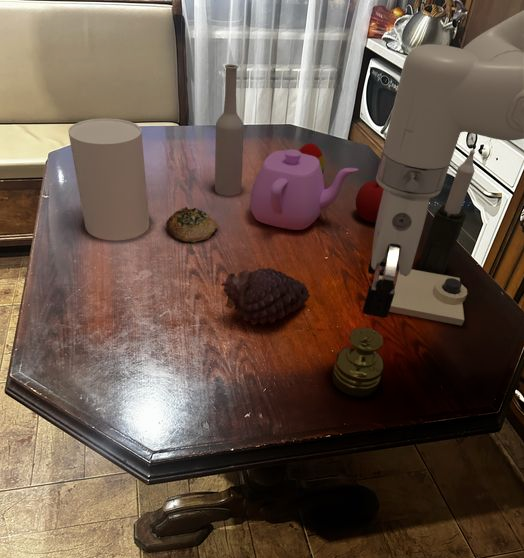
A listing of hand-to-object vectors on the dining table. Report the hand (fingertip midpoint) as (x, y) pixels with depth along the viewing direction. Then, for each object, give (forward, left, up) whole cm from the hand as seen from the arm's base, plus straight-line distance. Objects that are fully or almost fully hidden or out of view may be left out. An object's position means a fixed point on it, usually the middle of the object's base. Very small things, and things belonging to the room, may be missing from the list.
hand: (376, 293), depth 70 cm
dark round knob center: (-16, -27, -15) cm, 35 cm away
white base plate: (-10, -27, -17) cm, 34 cm away
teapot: (+20, -50, -17) cm, 57 cm away
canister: (+55, -33, -17) cm, 66 cm away
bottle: (+37, -58, -17) cm, 71 cm away
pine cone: (+17, -12, -17) cm, 27 cm away
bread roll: (+39, -36, -17) cm, 56 cm away
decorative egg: (+19, -70, -17) cm, 75 cm away
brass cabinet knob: (0, 0, -17) cm, 17 cm away
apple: (+1, -56, -17) cm, 59 cm away
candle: (-13, -38, -17) cm, 44 cm away
